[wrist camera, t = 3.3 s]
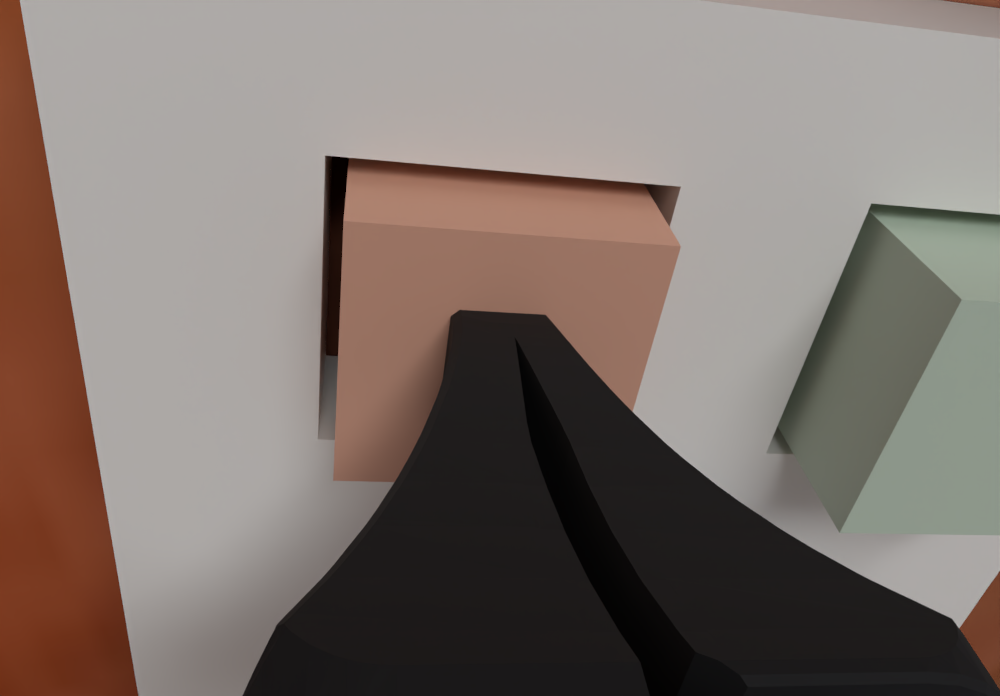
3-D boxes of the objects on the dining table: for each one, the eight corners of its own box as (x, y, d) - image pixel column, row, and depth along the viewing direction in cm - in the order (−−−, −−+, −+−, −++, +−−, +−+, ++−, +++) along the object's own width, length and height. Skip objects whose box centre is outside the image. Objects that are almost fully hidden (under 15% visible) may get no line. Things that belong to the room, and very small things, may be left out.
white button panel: (1212, 36, 14) (1342, 82, 12) (830, 676, 24) (868, 756, 22) (70, -117, 11) (4, -89, 9) (174, 687, 21) (153, 781, 19)
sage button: (1096, 220, 14) (1242, 318, 12) (977, 421, 17) (1077, 536, 14) (858, 199, 14) (962, 299, 11) (769, 413, 16) (839, 533, 14)
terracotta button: (627, 156, 14) (681, 246, 11) (576, 375, 16) (610, 486, 14) (351, 131, 13) (343, 220, 10) (341, 364, 15) (332, 481, 13)
